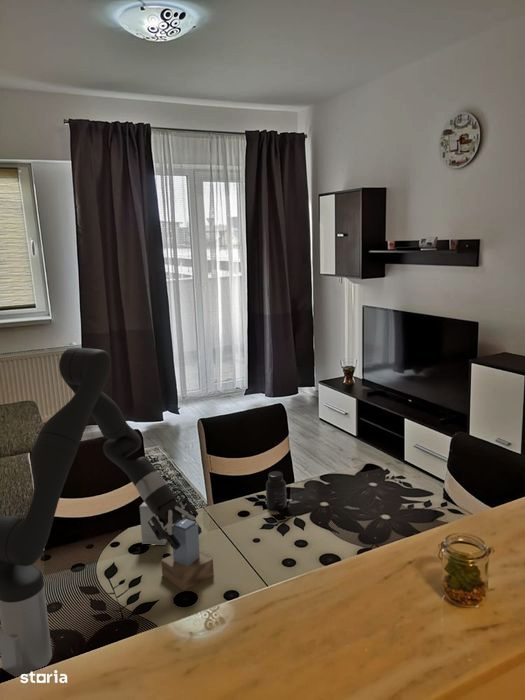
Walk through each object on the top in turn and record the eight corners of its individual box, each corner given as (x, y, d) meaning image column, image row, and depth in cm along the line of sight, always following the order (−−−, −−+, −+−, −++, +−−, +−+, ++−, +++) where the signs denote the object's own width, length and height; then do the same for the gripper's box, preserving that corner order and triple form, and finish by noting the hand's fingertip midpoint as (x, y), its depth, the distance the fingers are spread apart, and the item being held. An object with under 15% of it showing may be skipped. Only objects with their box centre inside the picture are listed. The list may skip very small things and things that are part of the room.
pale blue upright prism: (187, 566, 150) (185, 529, 148) (173, 561, 152) (171, 524, 150) (199, 557, 154) (197, 521, 152) (185, 552, 156) (183, 517, 154)
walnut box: (183, 591, 147) (182, 574, 146) (162, 576, 154) (161, 559, 153) (213, 575, 154) (212, 559, 153) (192, 562, 161) (191, 546, 160)
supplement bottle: (263, 505, 194) (262, 472, 192) (281, 500, 197) (279, 468, 195) (272, 513, 188) (270, 479, 186) (290, 508, 191) (289, 475, 189)
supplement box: (164, 546, 169) (161, 507, 167) (141, 545, 171) (138, 506, 169) (173, 534, 176) (170, 496, 174) (151, 533, 178) (148, 495, 176)
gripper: (142, 494, 148) (178, 546, 144) (179, 475, 159) (213, 523, 155) (130, 509, 152) (164, 559, 147) (166, 489, 163) (199, 536, 159)
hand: (189, 540), depth 151 cm, fingers open, 8 cm apart
